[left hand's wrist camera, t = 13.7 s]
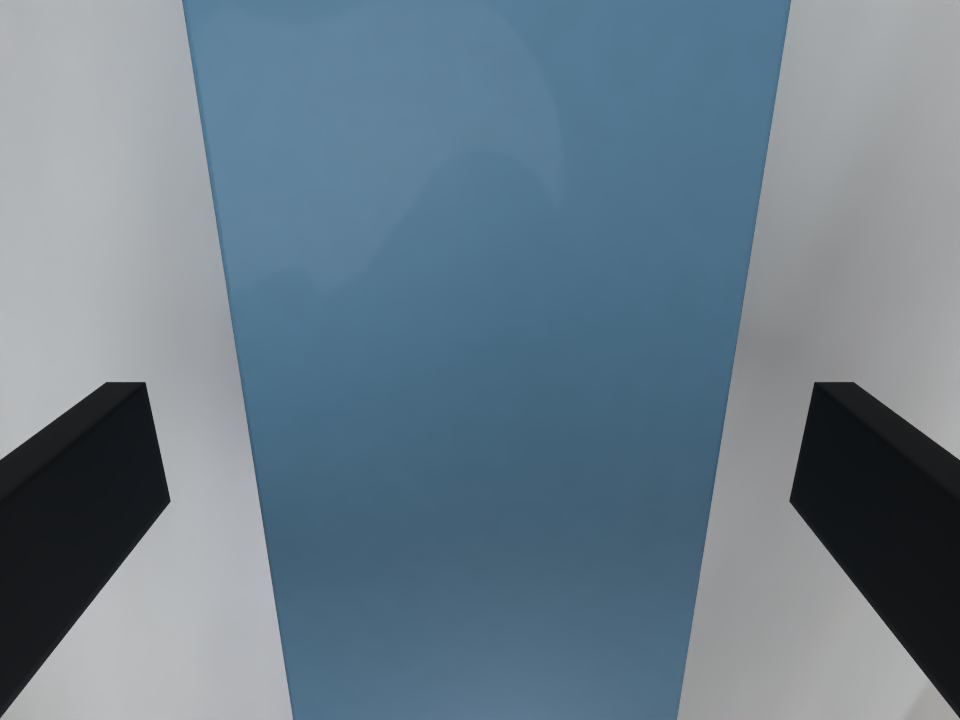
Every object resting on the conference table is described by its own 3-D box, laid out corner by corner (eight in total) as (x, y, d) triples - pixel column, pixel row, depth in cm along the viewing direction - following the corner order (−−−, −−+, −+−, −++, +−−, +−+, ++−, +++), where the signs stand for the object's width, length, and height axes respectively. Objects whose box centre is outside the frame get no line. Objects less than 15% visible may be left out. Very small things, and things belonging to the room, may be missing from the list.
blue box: (326, -181, 13) (78, -635, 5) (643, -183, 13) (899, -641, 5) (374, 471, 19) (294, 743, 11) (593, 472, 19) (675, 744, 11)
